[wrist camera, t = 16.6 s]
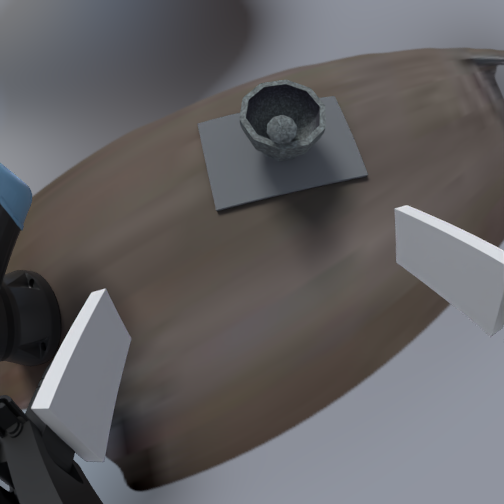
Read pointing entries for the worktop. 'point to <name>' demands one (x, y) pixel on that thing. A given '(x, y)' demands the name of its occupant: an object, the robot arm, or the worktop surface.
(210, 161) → the rubber mat
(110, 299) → the robot arm
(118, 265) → the worktop surface
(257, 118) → the mortar and pestle
